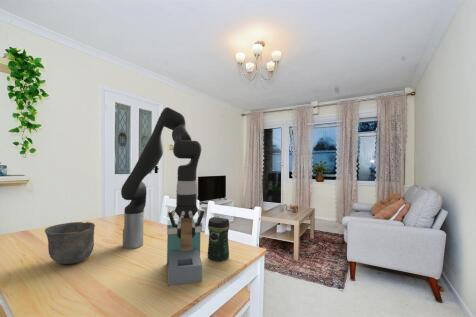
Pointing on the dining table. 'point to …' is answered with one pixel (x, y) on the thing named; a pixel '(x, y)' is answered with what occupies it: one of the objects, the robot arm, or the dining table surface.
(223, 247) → the coffee jar
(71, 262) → the cup
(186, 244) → the walnut peg
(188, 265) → the socket block
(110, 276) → the dining table surface
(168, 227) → the teal two-tone block
